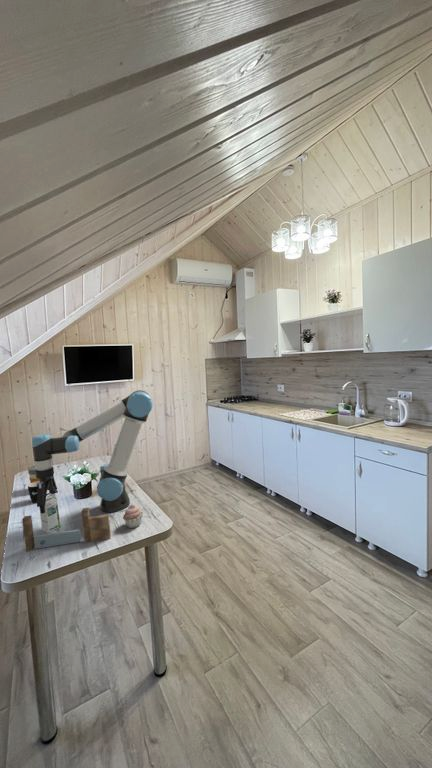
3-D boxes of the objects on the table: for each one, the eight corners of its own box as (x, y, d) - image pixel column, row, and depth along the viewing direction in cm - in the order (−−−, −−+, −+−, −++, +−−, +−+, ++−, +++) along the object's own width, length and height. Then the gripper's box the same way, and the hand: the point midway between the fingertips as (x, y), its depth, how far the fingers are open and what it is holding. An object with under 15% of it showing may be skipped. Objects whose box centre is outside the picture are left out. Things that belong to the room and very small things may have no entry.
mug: (29, 505, 178) (27, 488, 177) (30, 499, 186) (28, 483, 185) (53, 499, 184) (51, 482, 183) (53, 494, 192) (51, 478, 191)
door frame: (111, 535, 140) (107, 505, 139) (110, 538, 137) (106, 507, 136) (28, 547, 135) (24, 516, 134) (26, 551, 132) (22, 519, 131)
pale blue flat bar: (80, 540, 137) (79, 529, 137) (79, 543, 135) (78, 531, 135) (36, 546, 135) (34, 535, 134) (34, 549, 133) (32, 538, 132)
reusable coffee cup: (57, 487, 203) (54, 464, 201) (37, 495, 192) (34, 471, 191) (46, 484, 209) (43, 462, 208) (26, 491, 199) (23, 468, 198)
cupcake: (125, 532, 142) (123, 510, 141) (122, 523, 150) (120, 502, 150) (145, 526, 146) (144, 505, 145) (142, 518, 154) (140, 498, 153)
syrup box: (48, 533, 146) (45, 502, 145) (41, 530, 149) (38, 500, 148) (60, 527, 151) (57, 497, 150) (53, 524, 154) (50, 495, 153)
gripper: (45, 461, 159) (50, 502, 161) (24, 478, 135) (30, 526, 137) (61, 459, 160) (65, 500, 162) (43, 476, 137) (48, 524, 138)
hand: (49, 512), depth 149 cm, fingers open, 12 cm apart
